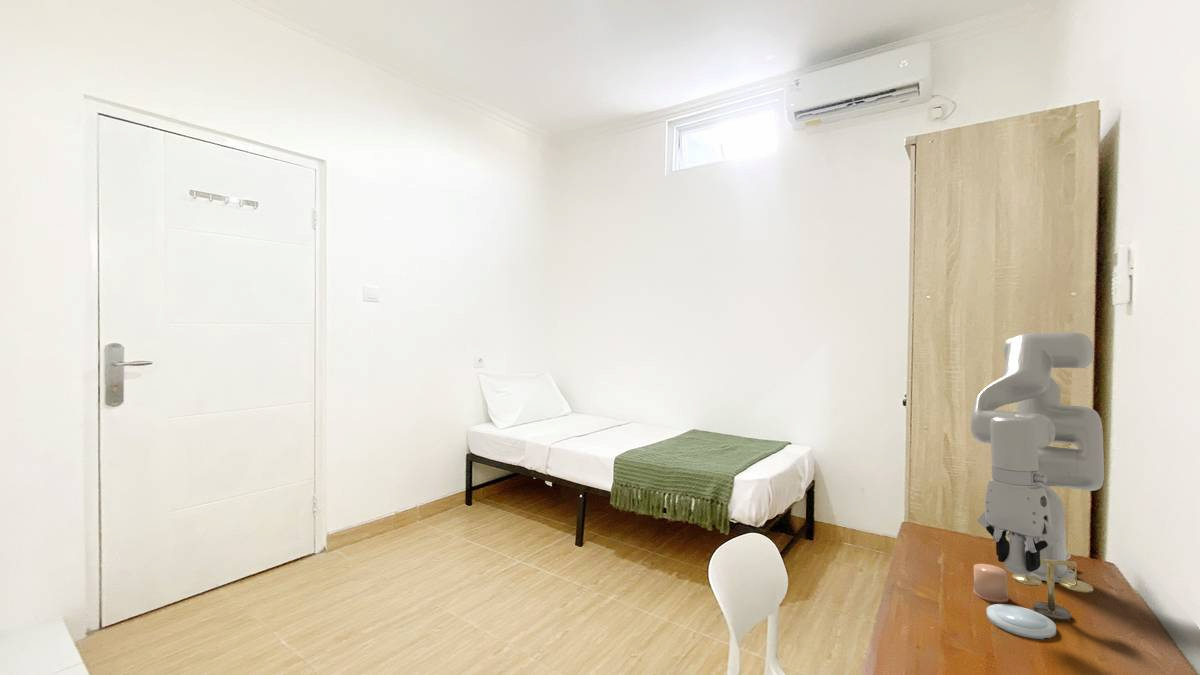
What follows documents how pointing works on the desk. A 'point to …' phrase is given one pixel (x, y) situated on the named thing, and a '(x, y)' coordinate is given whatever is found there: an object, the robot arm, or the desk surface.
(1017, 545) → the rook chess piece
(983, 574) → the peach dome knob
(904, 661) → the desk surface
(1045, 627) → the dish
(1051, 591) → the balance
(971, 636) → the desk surface
